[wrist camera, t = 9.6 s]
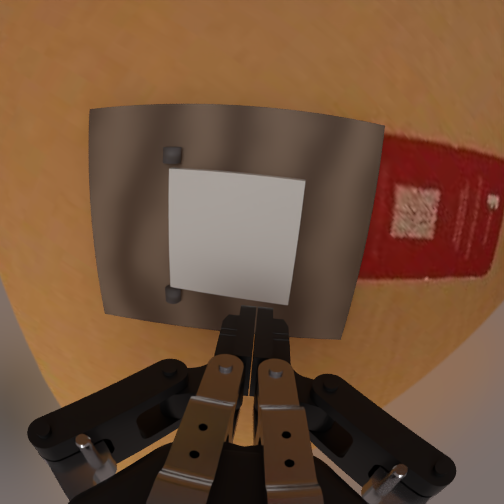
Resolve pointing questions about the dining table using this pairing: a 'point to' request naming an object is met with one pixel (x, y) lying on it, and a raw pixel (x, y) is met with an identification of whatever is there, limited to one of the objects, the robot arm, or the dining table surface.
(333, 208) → the walnut board
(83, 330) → the dining table surface
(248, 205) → the tile
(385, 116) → the dining table surface
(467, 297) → the dining table surface
